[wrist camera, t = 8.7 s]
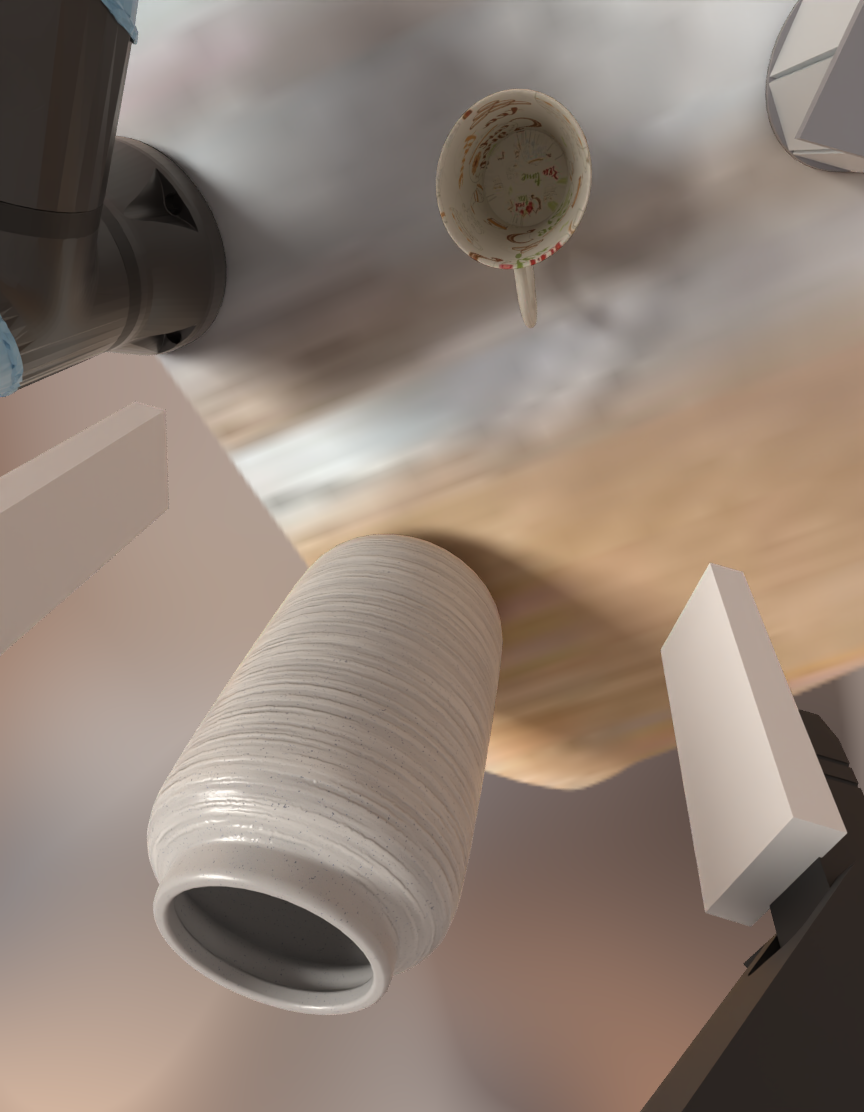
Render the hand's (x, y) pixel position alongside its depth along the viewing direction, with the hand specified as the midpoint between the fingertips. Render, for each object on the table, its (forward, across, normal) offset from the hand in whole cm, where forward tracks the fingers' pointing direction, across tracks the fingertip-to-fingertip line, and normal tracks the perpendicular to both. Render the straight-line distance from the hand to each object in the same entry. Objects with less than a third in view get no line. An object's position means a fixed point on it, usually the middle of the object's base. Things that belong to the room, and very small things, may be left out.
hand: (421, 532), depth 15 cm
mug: (+37, -1, +4) cm, 37 cm away
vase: (+36, -3, -31) cm, 48 cm away
